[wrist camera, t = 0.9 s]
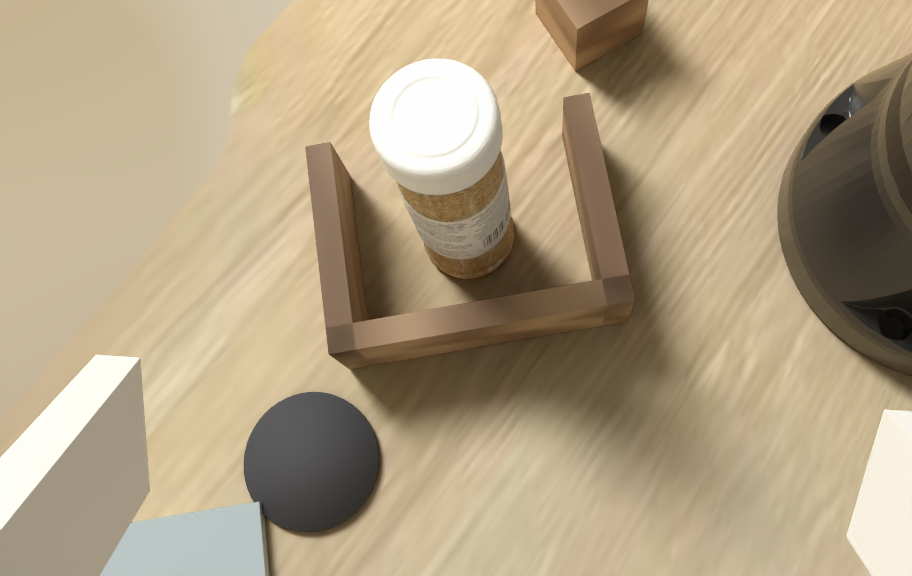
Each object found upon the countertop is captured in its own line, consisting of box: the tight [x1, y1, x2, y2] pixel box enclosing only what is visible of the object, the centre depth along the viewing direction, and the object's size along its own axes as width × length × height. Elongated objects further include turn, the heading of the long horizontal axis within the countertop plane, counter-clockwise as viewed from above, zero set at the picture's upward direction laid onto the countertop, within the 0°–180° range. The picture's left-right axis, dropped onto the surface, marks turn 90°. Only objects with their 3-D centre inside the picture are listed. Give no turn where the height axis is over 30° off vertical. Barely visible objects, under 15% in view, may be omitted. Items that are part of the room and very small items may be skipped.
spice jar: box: [370, 59, 514, 279], centre depth 35 cm, size 5×5×13 cm
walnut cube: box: [535, 0, 648, 71], centre depth 42 cm, size 4×4×4 cm
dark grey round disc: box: [244, 392, 379, 532], centre depth 39 cm, size 6×6×1 cm
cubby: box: [305, 93, 635, 369], centre depth 39 cm, size 13×10×4 cm
